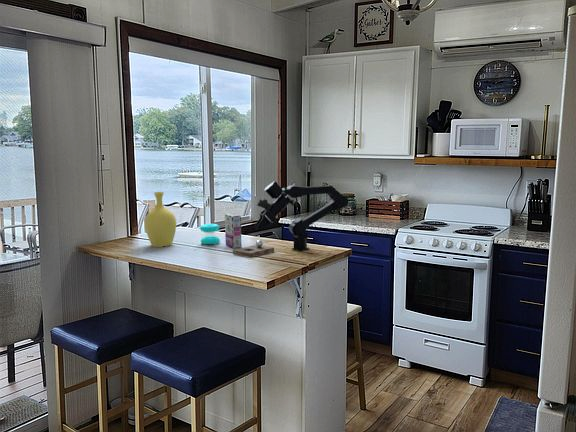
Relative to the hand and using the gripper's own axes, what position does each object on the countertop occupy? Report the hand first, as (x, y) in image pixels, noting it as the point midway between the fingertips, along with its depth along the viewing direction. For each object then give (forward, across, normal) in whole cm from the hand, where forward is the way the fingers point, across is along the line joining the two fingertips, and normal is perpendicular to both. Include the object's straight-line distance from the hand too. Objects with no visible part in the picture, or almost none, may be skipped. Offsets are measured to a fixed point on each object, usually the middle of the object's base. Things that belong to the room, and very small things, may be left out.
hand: (255, 228), depth 238 cm
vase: (+40, -34, -25) cm, 58 cm away
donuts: (+22, -31, -8) cm, 39 cm away
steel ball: (+4, -4, +7) cm, 9 cm away
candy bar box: (+14, -20, +1) cm, 24 cm away
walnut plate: (+9, -2, +8) cm, 12 cm away
